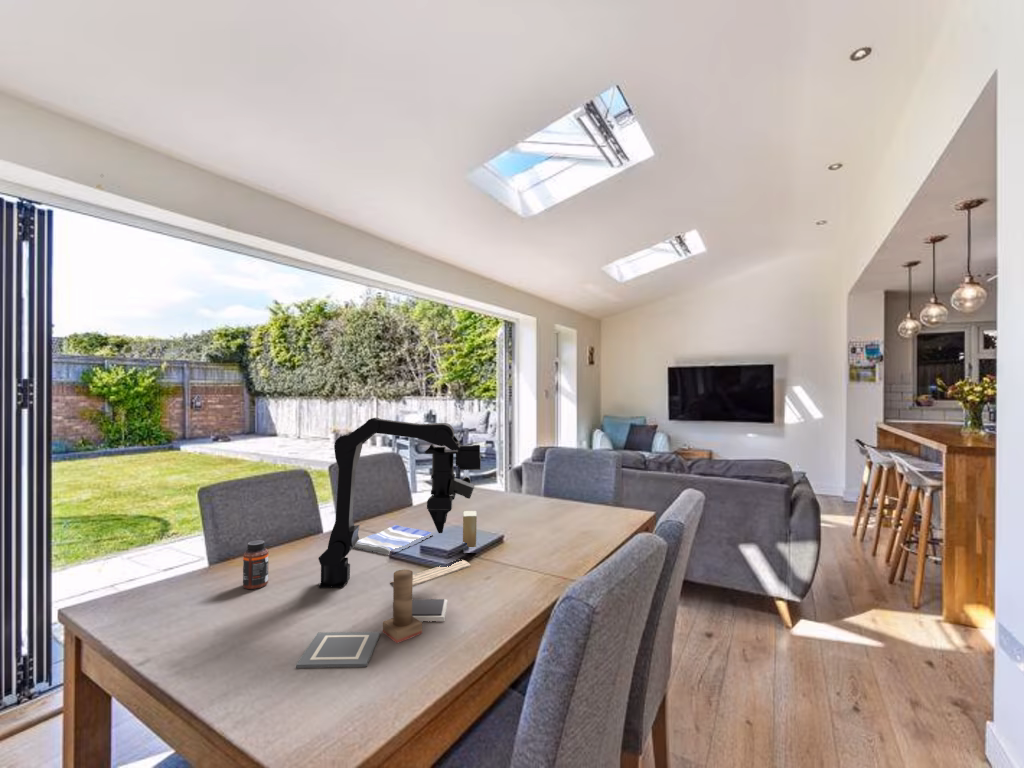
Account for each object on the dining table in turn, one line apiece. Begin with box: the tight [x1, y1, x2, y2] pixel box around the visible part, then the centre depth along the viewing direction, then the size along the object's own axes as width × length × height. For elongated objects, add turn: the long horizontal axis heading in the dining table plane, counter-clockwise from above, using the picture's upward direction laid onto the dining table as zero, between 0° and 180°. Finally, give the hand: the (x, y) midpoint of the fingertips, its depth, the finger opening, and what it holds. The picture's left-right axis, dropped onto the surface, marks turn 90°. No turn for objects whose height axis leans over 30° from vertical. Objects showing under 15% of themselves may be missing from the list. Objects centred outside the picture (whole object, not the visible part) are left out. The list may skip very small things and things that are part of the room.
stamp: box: [382, 569, 423, 644], centre depth 105 cm, size 6×6×13 cm
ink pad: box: [412, 598, 448, 623], centre depth 115 cm, size 9×9×1 cm
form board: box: [295, 631, 381, 669], centre depth 98 cm, size 13×12×1 cm
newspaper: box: [389, 559, 471, 587], centre depth 138 cm, size 24×7×2 cm, turn 137°
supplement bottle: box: [242, 539, 270, 590], centre depth 129 cm, size 6×6×11 cm
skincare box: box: [462, 510, 478, 548], centre depth 158 cm, size 6×4×12 cm
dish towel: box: [353, 524, 432, 556], centre depth 166 cm, size 17×24×3 cm
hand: (442, 527), depth 133 cm, fingers open, 9 cm apart
